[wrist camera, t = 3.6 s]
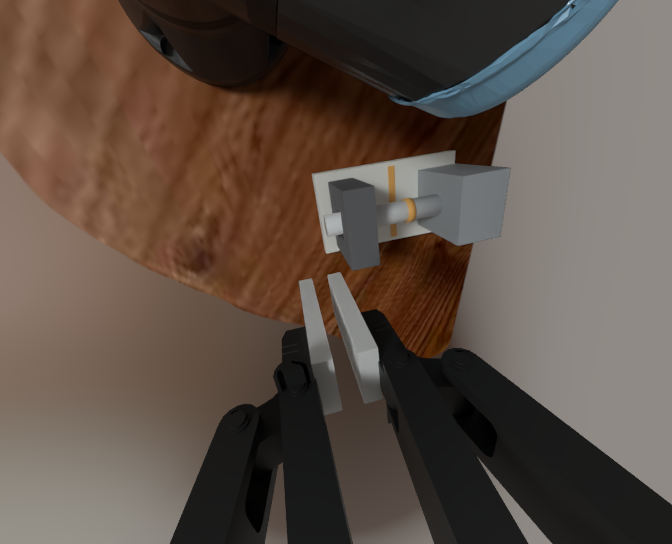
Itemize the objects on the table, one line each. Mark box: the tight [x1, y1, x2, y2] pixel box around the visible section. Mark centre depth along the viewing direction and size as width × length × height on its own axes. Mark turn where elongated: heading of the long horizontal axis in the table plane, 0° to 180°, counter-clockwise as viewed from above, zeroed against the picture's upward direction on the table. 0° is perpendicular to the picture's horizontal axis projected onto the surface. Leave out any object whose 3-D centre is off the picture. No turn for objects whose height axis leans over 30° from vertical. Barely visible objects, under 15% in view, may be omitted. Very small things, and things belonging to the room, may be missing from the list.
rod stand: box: [312, 151, 511, 254], centre depth 30 cm, size 18×10×10 cm, turn 98°
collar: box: [328, 178, 380, 271], centre depth 29 cm, size 3×8×8 cm, turn 8°
